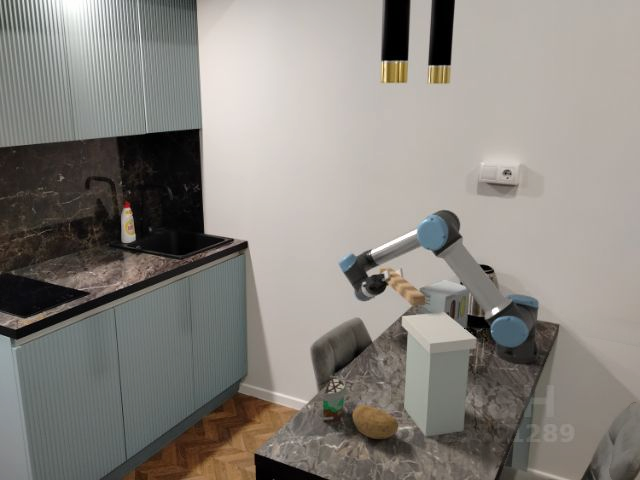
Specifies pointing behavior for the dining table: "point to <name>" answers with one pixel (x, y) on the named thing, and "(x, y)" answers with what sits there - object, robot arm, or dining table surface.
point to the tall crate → (436, 372)
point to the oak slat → (404, 288)
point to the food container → (333, 399)
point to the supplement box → (446, 300)
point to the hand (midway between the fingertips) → (395, 272)
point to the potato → (374, 422)
